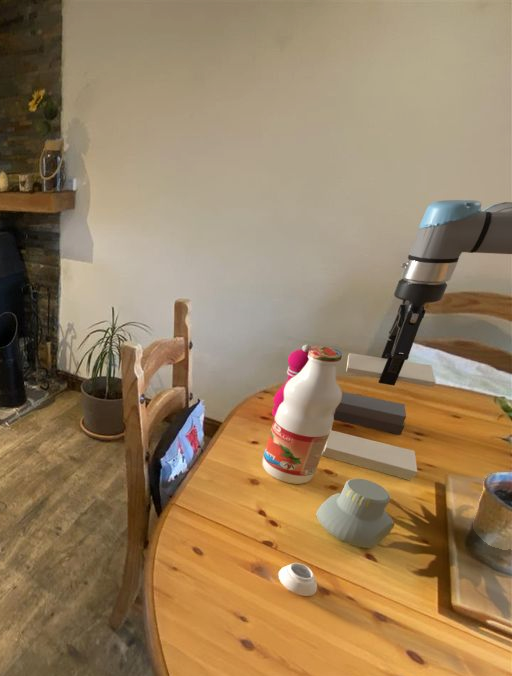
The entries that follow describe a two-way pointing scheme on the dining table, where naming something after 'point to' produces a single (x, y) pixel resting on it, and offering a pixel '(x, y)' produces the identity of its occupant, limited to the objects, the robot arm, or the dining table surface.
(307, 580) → the small white bowl
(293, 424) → the fruit juice
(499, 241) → the robot arm
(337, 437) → the light grey flat block
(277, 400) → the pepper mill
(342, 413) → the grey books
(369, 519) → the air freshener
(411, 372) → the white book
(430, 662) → the dining table surface
